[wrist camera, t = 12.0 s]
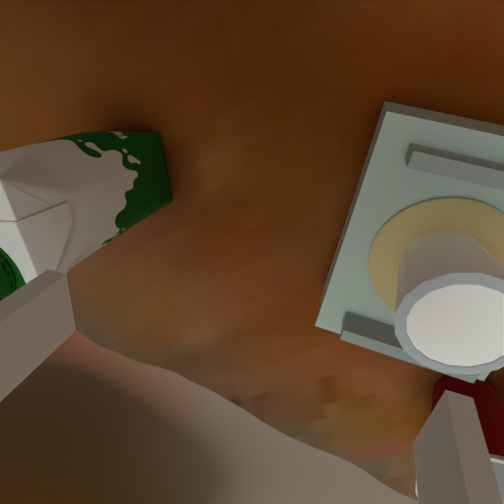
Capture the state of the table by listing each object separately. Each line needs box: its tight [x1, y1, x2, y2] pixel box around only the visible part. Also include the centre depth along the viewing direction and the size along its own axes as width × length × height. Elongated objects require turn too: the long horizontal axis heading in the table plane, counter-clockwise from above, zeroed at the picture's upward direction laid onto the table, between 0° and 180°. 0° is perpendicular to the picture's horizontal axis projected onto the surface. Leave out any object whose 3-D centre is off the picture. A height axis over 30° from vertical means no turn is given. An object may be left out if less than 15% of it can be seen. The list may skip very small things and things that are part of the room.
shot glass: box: [394, 230, 504, 375], centre depth 22 cm, size 7×7×7 cm
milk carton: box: [0, 131, 172, 300], centre depth 30 cm, size 9×9×20 cm
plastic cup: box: [415, 375, 504, 504], centre depth 34 cm, size 11×11×12 cm
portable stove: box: [315, 101, 504, 383], centre depth 28 cm, size 18×16×10 cm
